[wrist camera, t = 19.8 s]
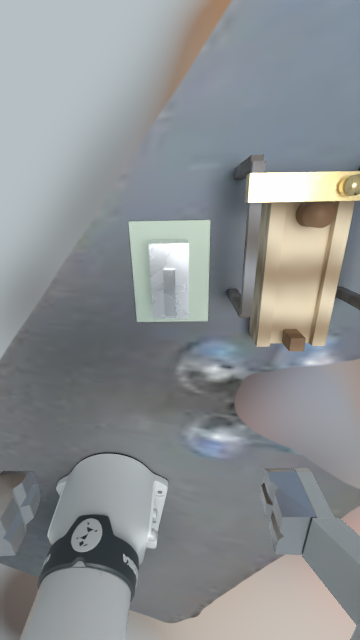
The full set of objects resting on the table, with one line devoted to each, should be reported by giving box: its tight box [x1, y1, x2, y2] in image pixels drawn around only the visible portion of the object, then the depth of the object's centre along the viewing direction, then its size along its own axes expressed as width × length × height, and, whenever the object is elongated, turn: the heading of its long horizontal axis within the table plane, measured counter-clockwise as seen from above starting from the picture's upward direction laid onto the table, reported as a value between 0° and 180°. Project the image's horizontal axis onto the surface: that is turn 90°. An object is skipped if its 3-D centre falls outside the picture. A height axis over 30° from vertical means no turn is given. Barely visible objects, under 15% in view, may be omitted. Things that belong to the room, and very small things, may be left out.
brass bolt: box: [245, 171, 360, 203], centre depth 20 cm, size 2×15×2 cm, turn 91°
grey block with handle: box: [148, 239, 189, 319], centre depth 29 cm, size 8×4×5 cm, turn 1°
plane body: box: [228, 155, 360, 351], centre depth 28 cm, size 19×14×8 cm
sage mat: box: [129, 220, 210, 322], centre depth 32 cm, size 12×9×1 cm
